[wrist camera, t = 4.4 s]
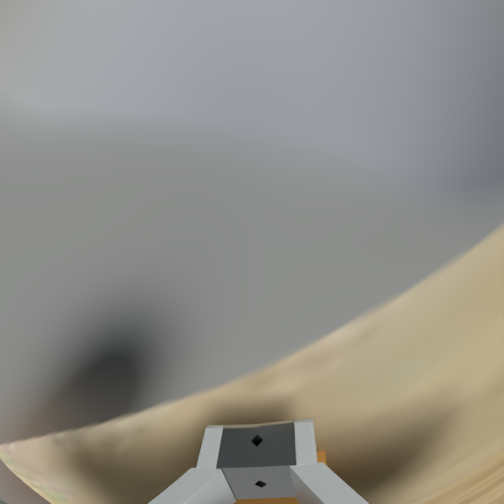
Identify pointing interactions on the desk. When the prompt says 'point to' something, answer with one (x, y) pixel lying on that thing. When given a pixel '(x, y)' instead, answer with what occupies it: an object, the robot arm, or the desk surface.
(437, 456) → the desk surface
